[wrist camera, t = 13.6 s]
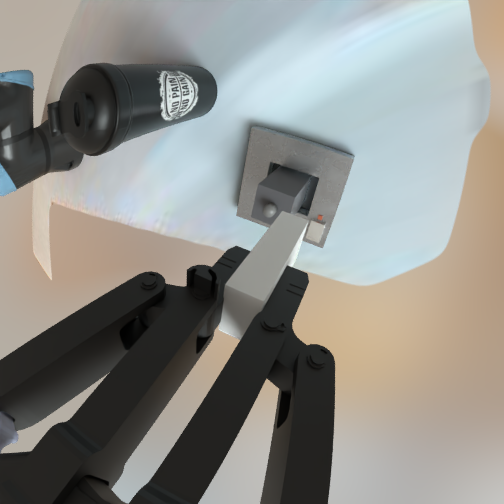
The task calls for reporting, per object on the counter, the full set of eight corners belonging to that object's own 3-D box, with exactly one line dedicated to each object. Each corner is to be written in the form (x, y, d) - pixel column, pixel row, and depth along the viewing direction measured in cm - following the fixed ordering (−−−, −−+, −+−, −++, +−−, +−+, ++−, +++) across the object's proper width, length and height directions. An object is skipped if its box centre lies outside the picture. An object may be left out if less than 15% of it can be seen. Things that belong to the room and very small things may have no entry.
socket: (241, 210, 45) (234, 217, 43) (257, 125, 37) (249, 128, 35) (325, 241, 42) (321, 250, 40) (354, 156, 34) (353, 160, 32)
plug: (274, 192, 41) (246, 221, 34) (281, 164, 39) (254, 187, 31) (303, 203, 40) (281, 235, 33) (311, 175, 38) (292, 201, 30)
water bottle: (222, 123, 39) (97, 167, 21) (168, 123, 42) (48, 166, 24) (222, 58, 33) (87, 55, 15) (166, 65, 36) (37, 81, 19)
